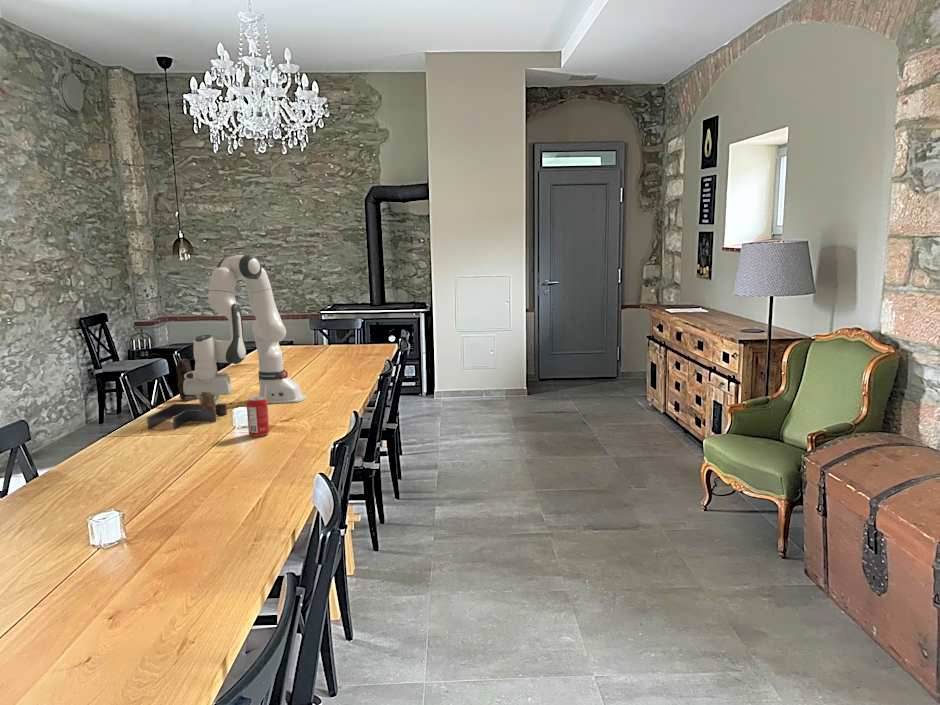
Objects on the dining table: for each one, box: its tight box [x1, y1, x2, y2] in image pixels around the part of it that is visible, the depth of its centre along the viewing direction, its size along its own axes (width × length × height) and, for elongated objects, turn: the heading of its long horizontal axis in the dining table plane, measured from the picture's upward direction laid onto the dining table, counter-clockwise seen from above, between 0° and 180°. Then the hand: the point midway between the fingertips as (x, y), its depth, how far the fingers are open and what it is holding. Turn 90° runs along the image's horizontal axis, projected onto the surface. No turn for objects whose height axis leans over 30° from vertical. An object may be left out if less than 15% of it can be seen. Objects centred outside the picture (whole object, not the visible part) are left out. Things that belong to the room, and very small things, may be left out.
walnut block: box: [201, 392, 216, 410], centre depth 314 cm, size 4×4×12 cm
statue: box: [175, 358, 199, 402], centre depth 350 cm, size 7×7×20 cm
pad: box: [153, 422, 174, 429], centre depth 304 cm, size 8×8×1 cm
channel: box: [146, 403, 228, 430], centre depth 310 cm, size 24×23×5 cm
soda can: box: [246, 395, 270, 438], centre depth 287 cm, size 8×8×15 cm
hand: (208, 404), depth 314 cm, fingers closed on walnut block, 4 cm apart
